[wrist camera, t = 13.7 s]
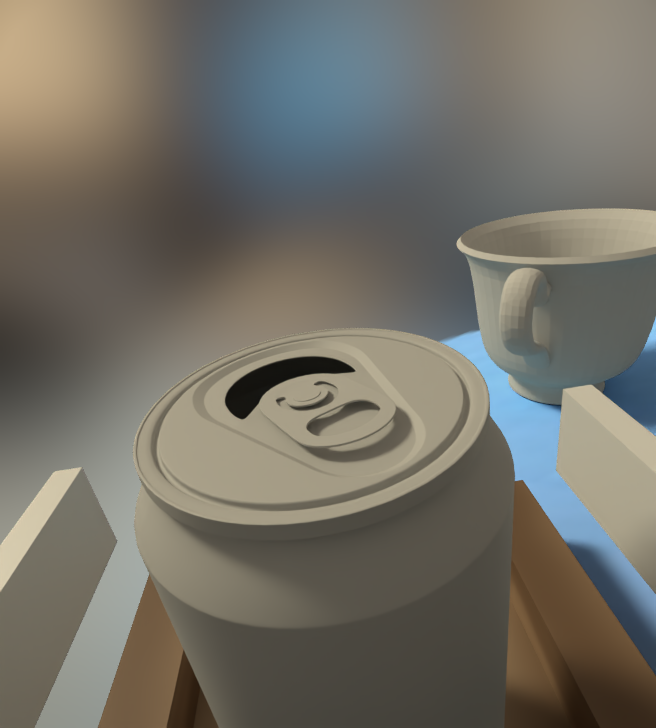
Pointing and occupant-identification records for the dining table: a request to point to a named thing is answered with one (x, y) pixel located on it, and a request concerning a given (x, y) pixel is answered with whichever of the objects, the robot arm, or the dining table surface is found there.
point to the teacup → (564, 295)
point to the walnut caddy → (524, 655)
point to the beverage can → (333, 532)
